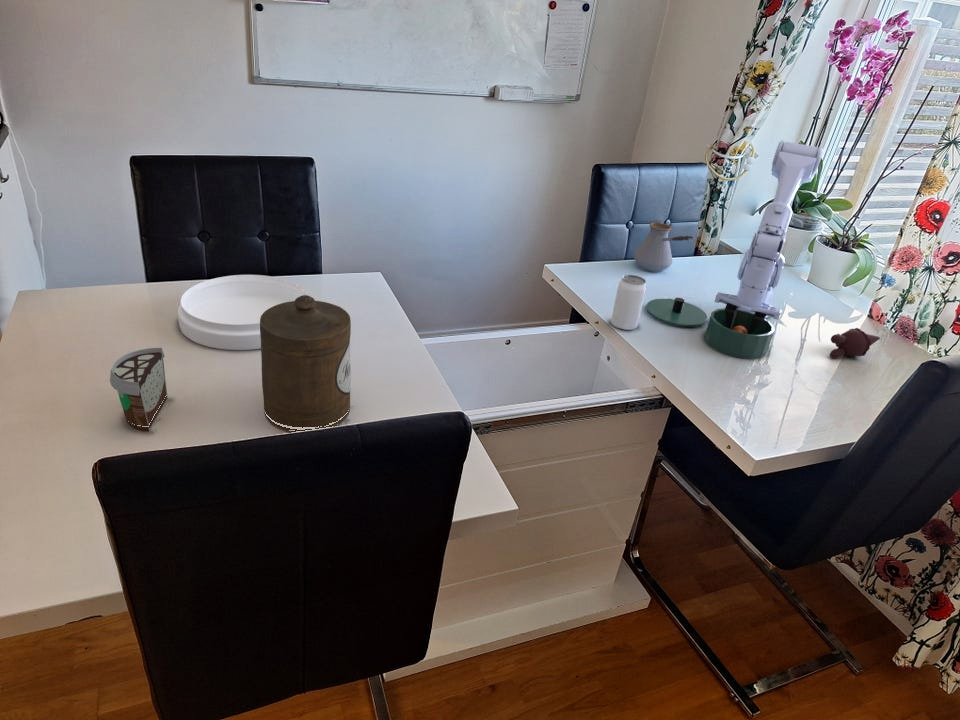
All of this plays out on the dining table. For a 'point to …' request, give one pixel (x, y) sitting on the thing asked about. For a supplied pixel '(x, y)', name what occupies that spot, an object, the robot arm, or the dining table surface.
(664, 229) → the coffee pot
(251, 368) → the dining table surface
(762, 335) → the pot
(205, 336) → the plate
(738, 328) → the carrot
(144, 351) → the food container
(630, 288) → the can
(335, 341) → the wooden container
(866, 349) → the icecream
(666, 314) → the pot lid
